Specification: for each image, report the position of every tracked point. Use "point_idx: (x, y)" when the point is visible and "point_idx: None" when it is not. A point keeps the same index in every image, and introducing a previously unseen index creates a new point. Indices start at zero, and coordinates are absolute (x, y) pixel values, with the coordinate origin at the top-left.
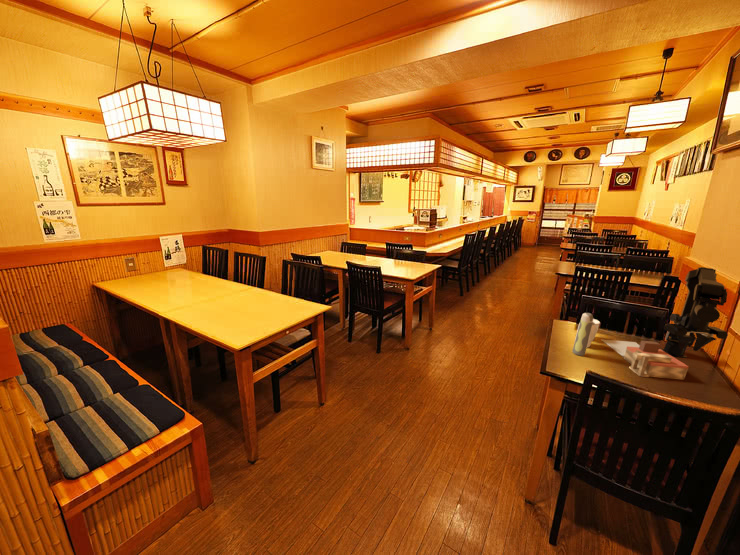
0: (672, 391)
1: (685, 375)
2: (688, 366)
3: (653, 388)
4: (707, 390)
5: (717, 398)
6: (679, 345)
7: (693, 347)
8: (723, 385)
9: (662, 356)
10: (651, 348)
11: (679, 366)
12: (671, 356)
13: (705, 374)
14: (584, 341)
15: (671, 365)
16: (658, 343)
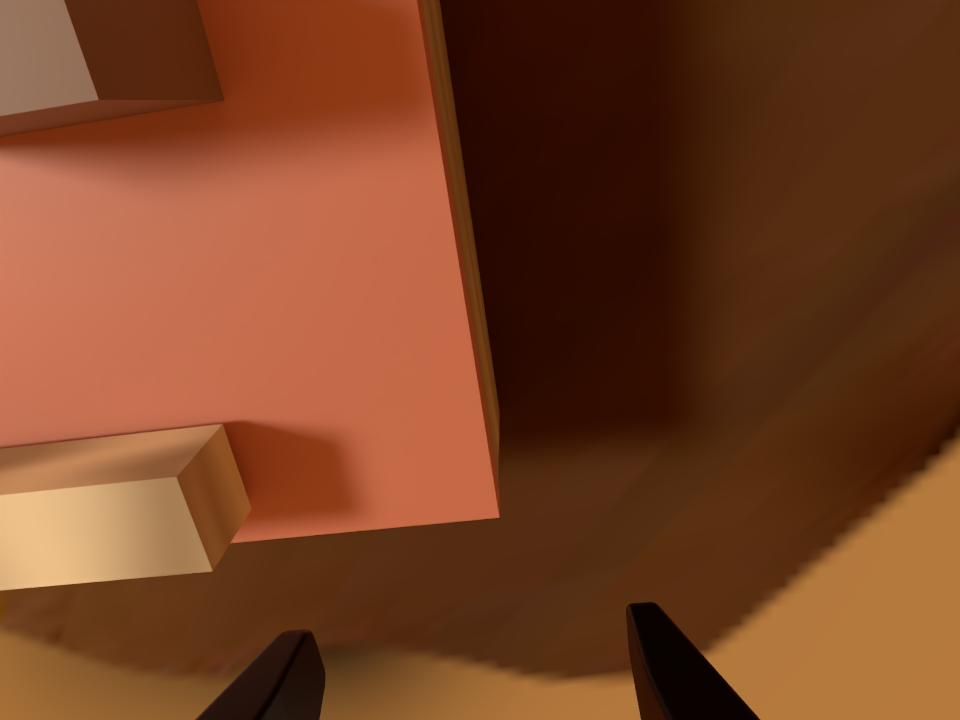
0: (249, 644)
1: (498, 440)
2: (496, 517)
3: (105, 639)
4: (602, 555)
5: (588, 652)
6: (213, 707)
7: (638, 651)
8: (894, 414)
9: (67, 559)
10: (19, 127)
11: (373, 520)
12: (430, 210)
13: (926, 179)
14: None
15: (259, 536)
16: (66, 34)
